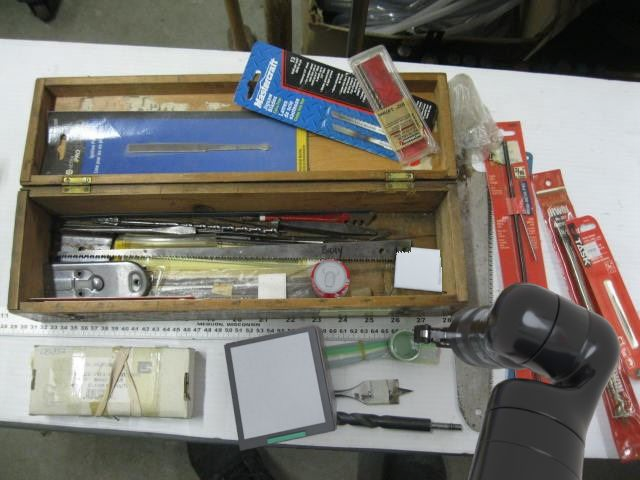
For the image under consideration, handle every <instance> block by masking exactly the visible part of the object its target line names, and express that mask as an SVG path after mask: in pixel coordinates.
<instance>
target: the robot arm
mask: <svg viewBox="0 0 640 480" xmlns="http://www.w3.org/2000/svg"><path fill="white" fill-rule="evenodd" d="M413 331H414V342H415V343H416V344H420V343H422V344H425V345H429V346H431V345H435V347H436V348H439V349H451V350H452V352H453V354H454V355H455V356H456V357H457V358H458V359H459V360H460V361H461V362H463V363H465V364H466V365H468V366H472V367H476V368H482V369H488V370H510V371H523V370H529V371H531V372H533V373H535V374H537V375H539V376H541V377H543V378H544V379H546V380H548V381H549V382H550V383H548V382H545V381H541V380H537V379H532V378H526V377H525V378H523V377H511V378H506V379H503V380H501V381H499V382H498V383H497V384H495V385H494V386H493V388H492V389H491V391H490V393H489V394H488V395H489V396H488V399H487V402H486V406H485V409H484V412H483V417H482V421H481V425H480V429H479V432H478V437H477V439H476V440H477V441H476V444H475V449H474V452H473V457H472V460H471V464H470V470H469V473H468V476H467V478H466V479H467V480H583V472H584V471H583V470H584V459H585V448H586V440H587V434H588V431H589V427H590V425H591V422H592V420H593V418H594V415H595V413H596V410H597V408H598V405H599V403H600V400H601V398H602V396H603V394H604V392H605V389H606V388H607V386H608V384H609V382H610V380H611V378H612V377H613V375H614V373H615V371H616V369H617V366H618V365H619V361H620V357H621V354H622V353H621V351H622V350H621V343H620V338H619V336H618V333H617V331H616V329H615V328H614V327H613V325H612V324H611V322H609V321H608V320H607V319H606V318H605V317H603V316H602V315H600V314H599V313H596V312H595V311H593V310H591V309H589V308H586V307H584V306H582V305H580V304H577V303H576V302H574V301H572V300H570V299H568V298H566V297H564V296H562V295H560V294H559V293H556V292H554V291H552V290H550V289H548V288H546V287H544V286H542V285H539V284H536V283H533V282H527V281H518V282H513V283H510V284H509V285H507V286H505V288H503V289H502V290H501V291H500V293H499V294H498V295H497V296H496V298H495V299H494V301H493V303H492V304H486V305H485V304H484V305H480V306H477V307H473V308H469V309H465V310H462V311H461V312H459V313H458V314H457V315H456V316H455V317H454V318H453V319H452V321H451V322H450V323H437V324H436V325H435V326H433V325H431V324H429V323H424V324H416V325H413ZM434 339H435V340H434Z"/></svg>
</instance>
